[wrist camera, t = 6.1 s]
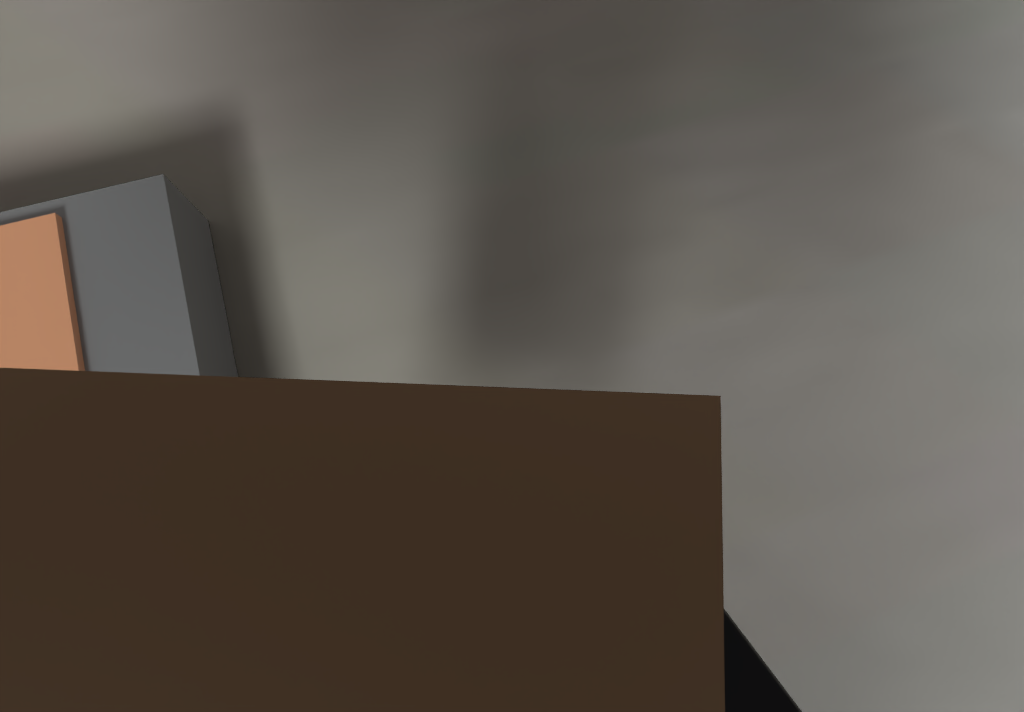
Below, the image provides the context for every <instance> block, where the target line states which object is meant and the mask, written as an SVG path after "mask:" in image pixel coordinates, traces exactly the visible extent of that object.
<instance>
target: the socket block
mask: <svg viewBox="0 0 1024 712" xmlns="http://www.w3.org/2000/svg"><path fill="white" fill-rule="evenodd" d="M0 368H23V369H48V370H73V371H99V372H124V373H150V374H175V375H201V376H226V377H238V374H237V368H236V363H235V358H234V353H233V347H232V342H231V337H230V332H229V327H228V321H227V316H226V311H225V306H224V300H223V295H222V290H221V285H220V280H219V274H218V269H217V264H216V259H215V253H214V248H213V243H212V238H211V233H210V227H209V222H208V220H207V219H206V218H205V217H204V216H203V215H202V214H201V213H200V212H199V211H198V209H197V208H196V207H195V206H194V205H193V204H192V203H191V202H190V201H189V200H188V199H187V198H186V197H185V196H184V195H183V194H182V193H181V192H180V191H179V190H178V189H177V188H176V187H175V186H174V185H173V184H172V183H171V182H170V181H169V179H168V178H167V177H166V176H165V175H164V174H161V175H157V176H152V177H148V178H144V179H140V180H135V181H131V182H127V183H123V184H118V185H114V186H110V187H105V188H101V189H97V190H93V191H88V192H84V193H80V194H76V195H71V196H67V197H63V198H58V199H54V200H50V201H46V202H41V203H37V204H33V205H29V206H24V207H20V208H16V209H11V210H7V211H3V212H0Z"/></svg>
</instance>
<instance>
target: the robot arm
mask: <svg viewBox="0 0 1024 712" xmlns="http://www.w3.org/2000/svg"><path fill="white" fill-rule="evenodd" d="M723 609H724V608H723ZM724 677H725V712H802V711H801V710H800V709H799V707H798V706H797V705H796V703H795V702H794V701H793V699H792V698H791V697H790V695H789V694H788V693H787V691H786V690H785V689H784V687H783V686H782V685H781V683H780V682H779V681H778V679H777V678H776V677H775V676H774V674H773V673H772V672H771V670H770V669H769V668H768V666H767V665H766V664H765V662H764V661H763V660H762V658H761V657H760V656H759V654H758V653H757V652H756V650H755V649H754V648H753V646H752V645H751V644H750V642H749V641H748V640H747V639H746V637H745V636H744V635H743V633H742V632H741V631H740V629H739V628H738V627H737V625H736V624H735V623H734V621H733V620H732V619H731V617H730V616H729V615H728V613H727V612H726V611H725V609H724Z"/></svg>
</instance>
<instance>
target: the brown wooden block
mask: <svg viewBox="0 0 1024 712" xmlns="http://www.w3.org/2000/svg"><path fill="white" fill-rule="evenodd" d="M0 712H725V677H724V609H723V540H722V472H721V403H720V396H709V395H684V394H658V393H633V392H607V391H582V390H556V389H531V388H506V387H480V386H455V385H429V384H404V383H378V382H353V381H328V380H302V379H277V378H251V377H226V376H201V375H175V374H150V373H124V372H99V371H73V370H48V369H23V368H0Z"/></svg>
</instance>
